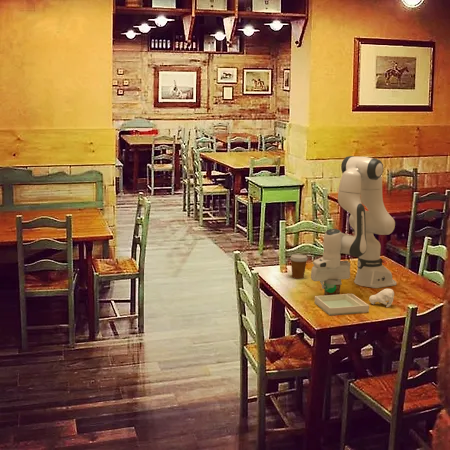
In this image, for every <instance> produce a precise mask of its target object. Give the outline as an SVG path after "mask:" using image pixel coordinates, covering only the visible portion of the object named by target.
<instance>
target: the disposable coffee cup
mask: <svg viewBox="0 0 450 450" xmlns="http://www.w3.org/2000/svg"><path fill="white" fill-rule="evenodd" d="M289 259H290V264H291V265H290V266H291V267H290V268H291V276H292V278H293V279H297V280H299V279H301V280H302V279H304V276H305V272H306V265H307V261H308V256H307V255H305V254H301V253H294V254H291V256H290V258H289Z"/></svg>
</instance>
